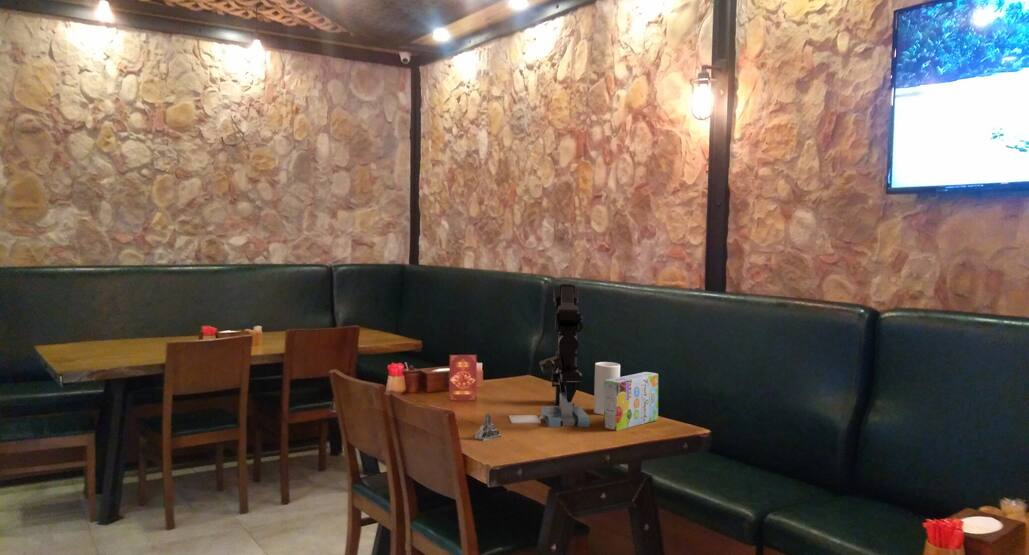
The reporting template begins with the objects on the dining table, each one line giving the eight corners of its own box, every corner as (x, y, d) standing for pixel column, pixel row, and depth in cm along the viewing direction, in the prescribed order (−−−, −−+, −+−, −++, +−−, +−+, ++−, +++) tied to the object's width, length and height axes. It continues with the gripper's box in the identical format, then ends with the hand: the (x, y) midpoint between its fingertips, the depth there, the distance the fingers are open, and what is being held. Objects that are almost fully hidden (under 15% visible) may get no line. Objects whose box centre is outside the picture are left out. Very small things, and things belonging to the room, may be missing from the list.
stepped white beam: (559, 421, 248) (559, 392, 247) (570, 421, 248) (570, 392, 248) (563, 426, 241) (563, 397, 241) (574, 426, 242) (574, 397, 241)
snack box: (644, 417, 255) (645, 371, 254) (658, 420, 251) (660, 373, 250) (602, 428, 240) (603, 379, 239) (616, 431, 236) (618, 381, 235)
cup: (618, 415, 256) (619, 366, 255) (592, 414, 258) (593, 365, 257) (619, 410, 264) (621, 362, 263) (595, 408, 266) (596, 361, 265)
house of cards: (486, 432, 234) (486, 406, 234) (506, 438, 228) (506, 412, 228) (462, 437, 228) (463, 410, 228) (482, 443, 222) (482, 416, 221)
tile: (508, 417, 252) (508, 415, 252) (536, 416, 253) (536, 415, 253) (511, 424, 243) (511, 422, 243) (540, 423, 244) (541, 422, 244)
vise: (535, 415, 254) (535, 406, 254) (579, 415, 256) (579, 406, 256) (542, 427, 240) (542, 417, 239) (589, 427, 241) (589, 417, 241)
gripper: (537, 344, 253) (536, 392, 254) (546, 354, 235) (545, 406, 236) (571, 344, 255) (570, 392, 256) (583, 353, 236) (582, 405, 237)
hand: (566, 398), depth 246 cm, fingers open, 9 cm apart
